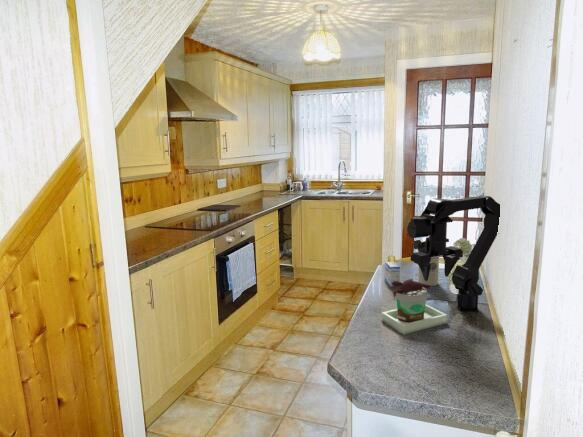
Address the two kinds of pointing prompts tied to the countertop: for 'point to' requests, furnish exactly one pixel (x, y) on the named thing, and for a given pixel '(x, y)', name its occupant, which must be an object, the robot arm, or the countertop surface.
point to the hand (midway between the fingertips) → (436, 278)
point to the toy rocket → (408, 286)
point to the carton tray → (430, 320)
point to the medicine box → (392, 272)
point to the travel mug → (433, 272)
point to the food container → (411, 305)
